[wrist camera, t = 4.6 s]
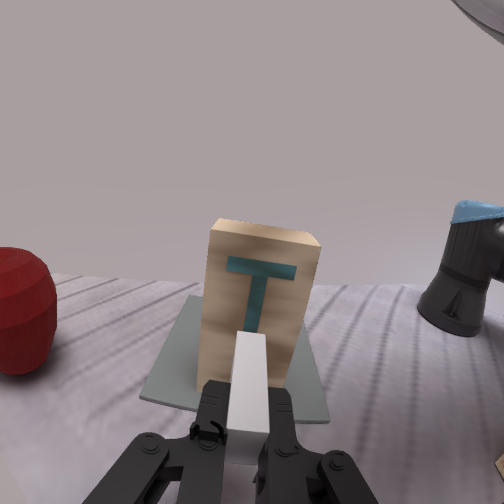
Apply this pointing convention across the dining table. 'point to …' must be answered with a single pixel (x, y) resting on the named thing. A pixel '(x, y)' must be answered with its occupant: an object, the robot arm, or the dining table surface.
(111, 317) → the dining table surface
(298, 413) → the mat
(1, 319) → the apple
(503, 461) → the coffeecake box
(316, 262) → the letter block
